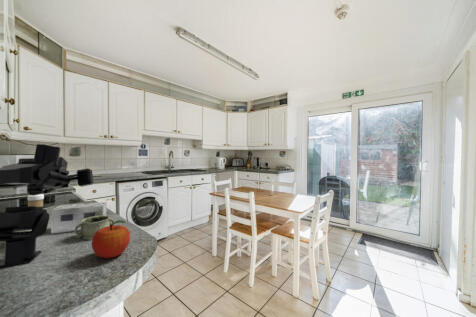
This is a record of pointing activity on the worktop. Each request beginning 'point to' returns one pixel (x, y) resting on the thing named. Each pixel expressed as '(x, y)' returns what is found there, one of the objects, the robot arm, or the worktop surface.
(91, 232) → the vessel
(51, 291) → the worktop surface
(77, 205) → the housing
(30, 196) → the sprinkles bottle
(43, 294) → the worktop surface
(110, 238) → the fruit
